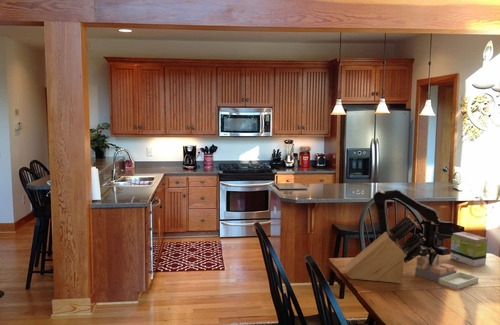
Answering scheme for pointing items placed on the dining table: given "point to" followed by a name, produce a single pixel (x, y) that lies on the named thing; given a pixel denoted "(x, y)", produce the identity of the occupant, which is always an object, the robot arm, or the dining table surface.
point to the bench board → (432, 273)
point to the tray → (457, 280)
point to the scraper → (426, 262)
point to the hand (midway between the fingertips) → (427, 264)
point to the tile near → (438, 270)
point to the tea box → (468, 248)
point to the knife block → (386, 255)
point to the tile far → (447, 267)
